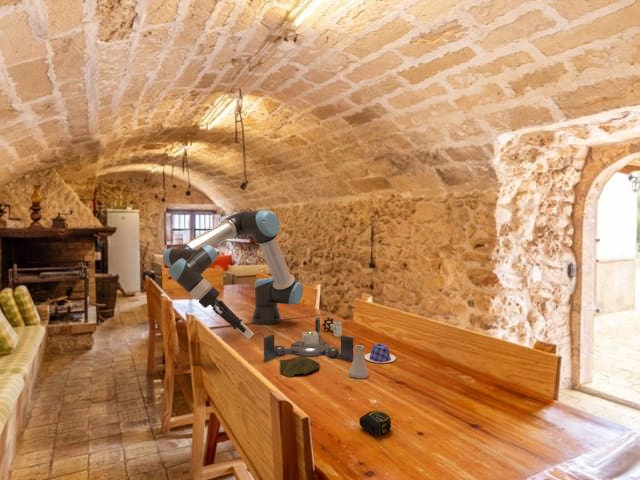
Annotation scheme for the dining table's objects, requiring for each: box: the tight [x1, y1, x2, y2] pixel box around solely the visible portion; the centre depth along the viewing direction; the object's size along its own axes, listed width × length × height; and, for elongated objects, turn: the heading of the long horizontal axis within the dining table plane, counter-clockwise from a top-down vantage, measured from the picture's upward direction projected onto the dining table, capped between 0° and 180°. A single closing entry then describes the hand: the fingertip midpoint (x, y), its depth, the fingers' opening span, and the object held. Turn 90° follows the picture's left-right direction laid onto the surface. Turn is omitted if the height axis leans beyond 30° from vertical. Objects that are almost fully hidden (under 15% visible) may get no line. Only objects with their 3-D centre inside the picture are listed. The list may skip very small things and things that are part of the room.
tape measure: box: [358, 410, 392, 437], centre depth 101 cm, size 7×7×4 cm
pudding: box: [363, 343, 397, 364], centre depth 155 cm, size 12×12×5 cm
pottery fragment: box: [279, 356, 321, 379], centre depth 143 cm, size 14×14×4 cm
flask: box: [348, 344, 370, 379], centre depth 138 cm, size 7×7×10 cm
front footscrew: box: [263, 334, 286, 362], centre depth 157 cm, size 11×4×9 cm, turn 151°
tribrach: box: [285, 316, 354, 363], centre depth 167 cm, size 36×25×9 cm
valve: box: [321, 316, 343, 338], centre depth 190 cm, size 7×7×12 cm
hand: (251, 336), depth 151 cm, fingers closed
